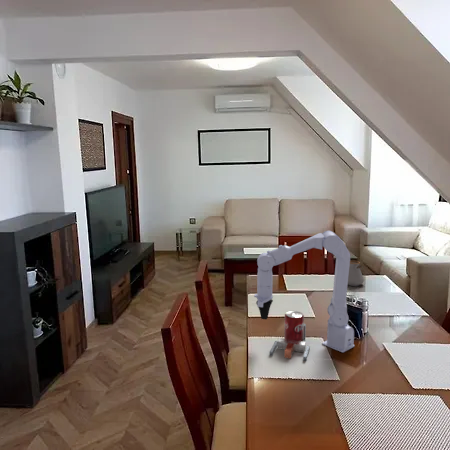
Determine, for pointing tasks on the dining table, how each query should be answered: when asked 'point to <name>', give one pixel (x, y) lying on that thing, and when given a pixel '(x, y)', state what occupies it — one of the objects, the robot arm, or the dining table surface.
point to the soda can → (294, 326)
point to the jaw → (291, 346)
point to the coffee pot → (355, 274)
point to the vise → (303, 339)
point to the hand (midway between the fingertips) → (264, 318)
